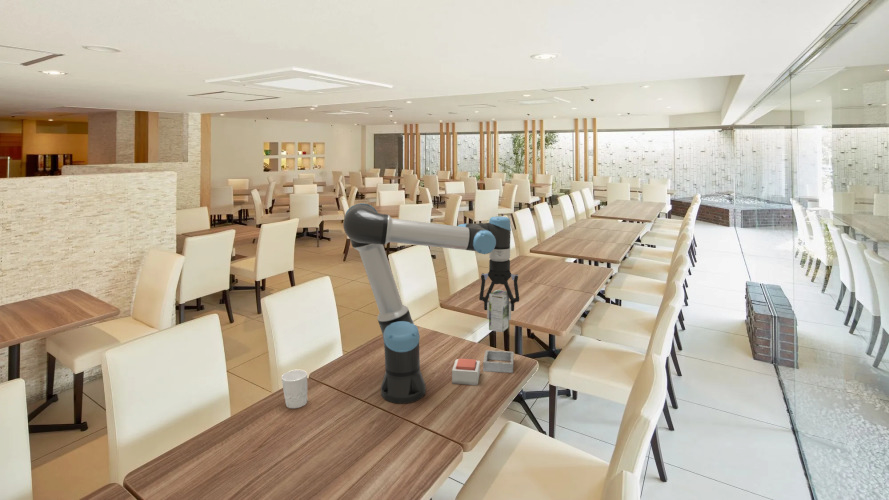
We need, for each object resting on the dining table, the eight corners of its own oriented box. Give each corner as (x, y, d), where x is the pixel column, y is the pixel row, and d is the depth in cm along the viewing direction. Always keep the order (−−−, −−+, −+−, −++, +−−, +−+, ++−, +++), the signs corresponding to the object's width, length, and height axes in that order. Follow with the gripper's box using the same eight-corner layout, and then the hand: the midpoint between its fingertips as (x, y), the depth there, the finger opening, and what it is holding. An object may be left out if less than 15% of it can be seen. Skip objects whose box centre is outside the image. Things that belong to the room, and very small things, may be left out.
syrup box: (495, 325, 176) (495, 289, 173) (509, 327, 173) (509, 291, 170) (488, 330, 171) (488, 293, 168) (503, 333, 168) (503, 295, 165)
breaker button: (456, 379, 162) (456, 366, 161) (458, 371, 168) (458, 358, 167) (474, 380, 161) (474, 367, 160) (476, 372, 167) (476, 359, 166)
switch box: (452, 383, 161) (452, 370, 160) (455, 371, 170) (455, 359, 169) (477, 385, 160) (477, 372, 159) (479, 373, 169) (479, 360, 168)
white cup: (294, 395, 155) (292, 368, 153) (314, 399, 152) (311, 371, 150) (278, 407, 148) (276, 378, 146) (298, 411, 145) (296, 382, 143)
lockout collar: (483, 371, 170) (483, 362, 170) (485, 358, 181) (485, 350, 180) (512, 373, 168) (513, 364, 168) (513, 360, 179) (513, 351, 178)
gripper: (470, 260, 164) (471, 320, 169) (527, 262, 161) (526, 323, 166) (473, 256, 172) (473, 314, 176) (527, 257, 168) (526, 316, 173)
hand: (499, 318), depth 171 cm, fingers closed on syrup box, 7 cm apart
